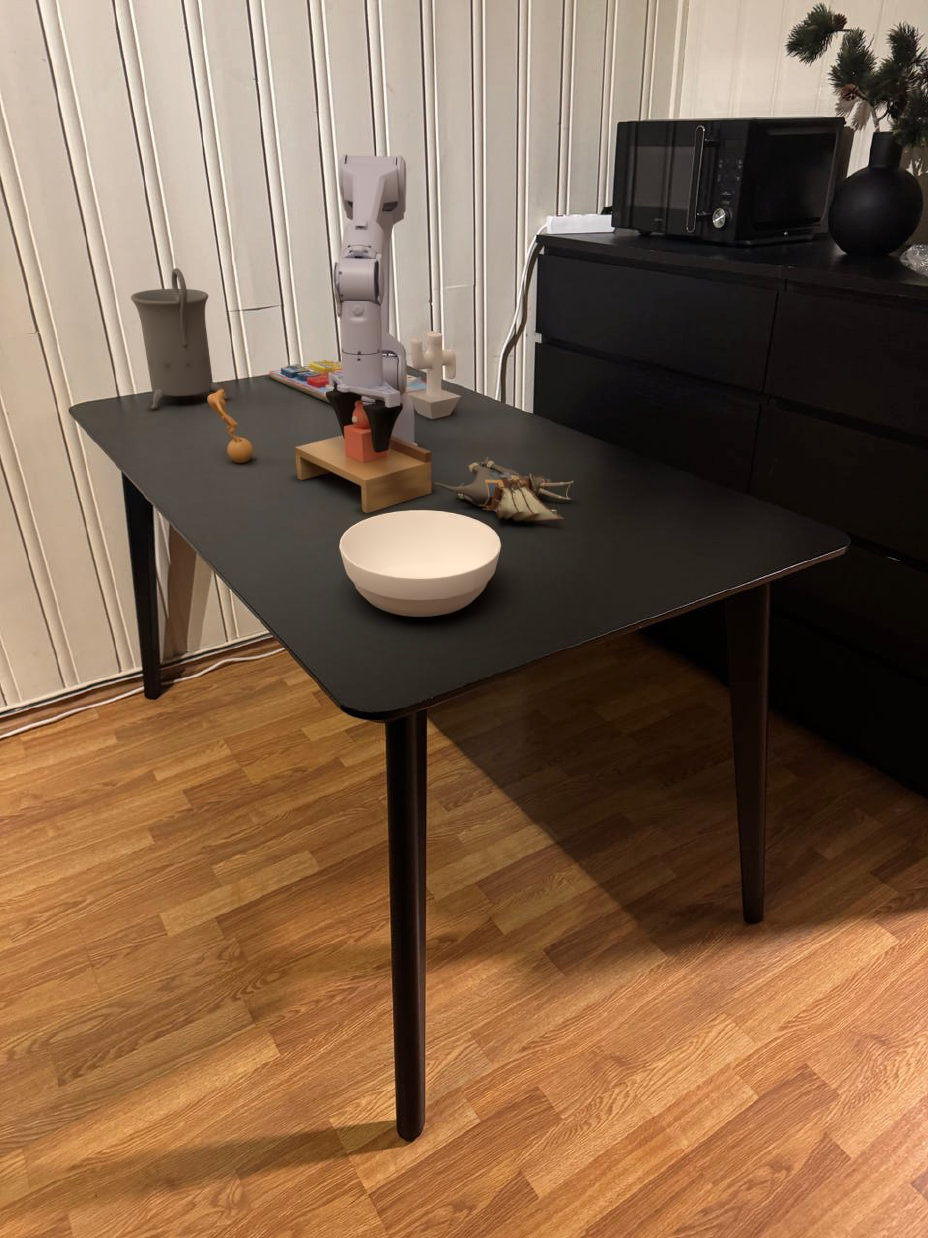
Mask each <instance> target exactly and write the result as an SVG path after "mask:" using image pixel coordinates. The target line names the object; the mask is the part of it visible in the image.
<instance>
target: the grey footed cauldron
mask: <svg viewBox="0 0 928 1238" xmlns="http://www.w3.org/2000/svg"><path fill="white" fill-rule="evenodd" d="M178 283H179V285H178ZM171 286H172V288H157V289H149V290H148V289H147V290H143V291H142V290H141V291H139V292H135V293H133V294H131V296H130V300H131V301H132V302H133V304H134V306H135V307H136V309H137V312H138V317H139V319H140V324H141V330H142V331H141V332H142V337H143V343H144V349H145V356H146V361H147V369H148V374H149V381H150V382H149V383H150V387H151V391H152V392H153V396H152V405H151V406H150V408H151V410H156V409H158V408H159V405H160V404H161V402H162V401H163V400H164V399H165V398H166V396H167V397H187V396H195V395H201V394H205V393H208V392H210V393H211V394H213V393H216V392H218V391H219V390H220V389H223V388H222V386H220V385H219V384H217V383H216V382H213V372H212V365H211V364H212V363H211V356H210V348H209V340H208V339H209V338H208V331H207V322H206V305H207V301H208V299H209V294H208V293H207V292H205V291H203V290H198V289H191V288H187V284H186V280H185V277H184V275H183V272H182V270H181V269H179V268H178V267H175V268H173V270H172V272H171ZM228 399H229V397H228V395H225V396H224V400H225V401H227V400H228Z"/></svg>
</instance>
